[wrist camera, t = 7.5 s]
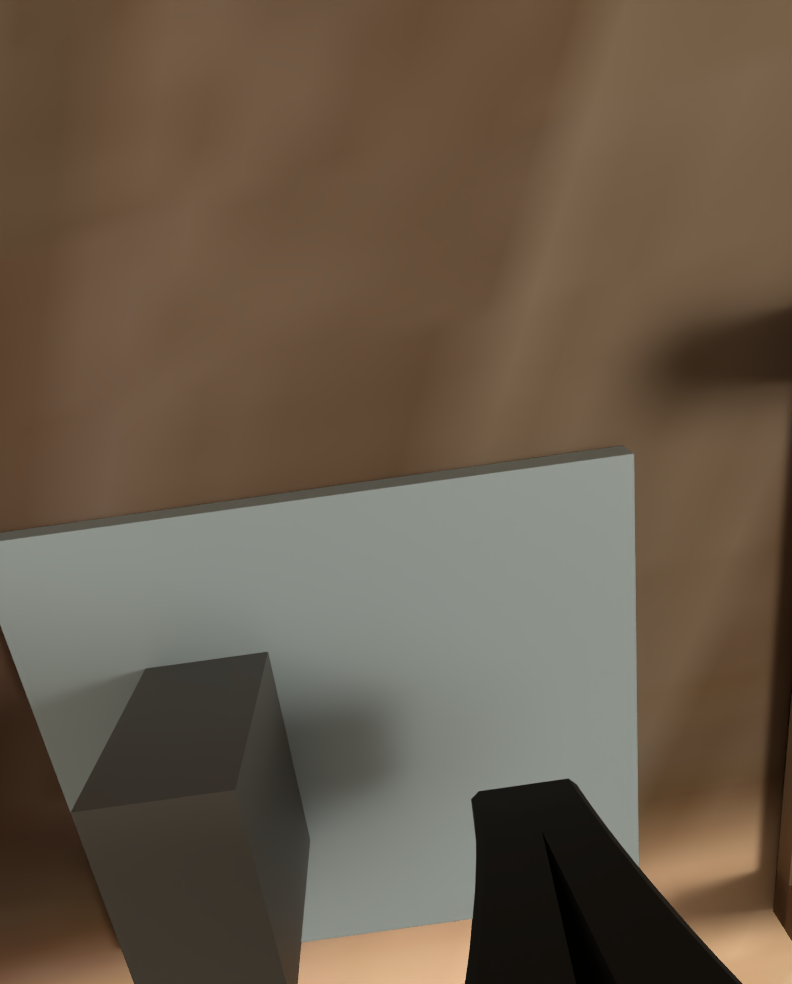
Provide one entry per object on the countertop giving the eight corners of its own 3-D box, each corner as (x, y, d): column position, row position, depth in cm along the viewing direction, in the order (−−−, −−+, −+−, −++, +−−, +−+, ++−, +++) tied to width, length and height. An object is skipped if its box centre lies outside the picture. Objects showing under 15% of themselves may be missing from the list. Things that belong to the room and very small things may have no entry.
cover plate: (620, 853, 14) (714, 1071, 10) (143, 918, 14) (63, 1161, 10) (610, 436, 11) (738, 531, 7) (4, 520, 11) (-180, 658, 7)
